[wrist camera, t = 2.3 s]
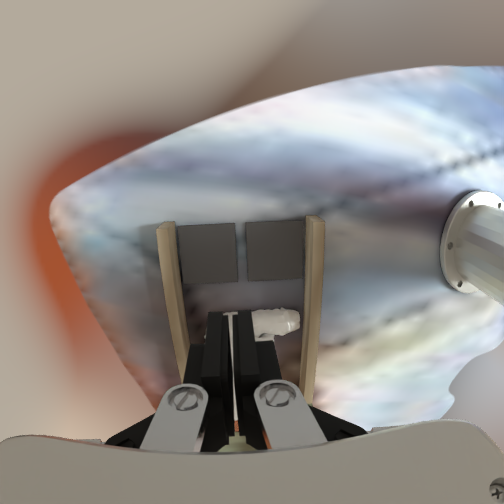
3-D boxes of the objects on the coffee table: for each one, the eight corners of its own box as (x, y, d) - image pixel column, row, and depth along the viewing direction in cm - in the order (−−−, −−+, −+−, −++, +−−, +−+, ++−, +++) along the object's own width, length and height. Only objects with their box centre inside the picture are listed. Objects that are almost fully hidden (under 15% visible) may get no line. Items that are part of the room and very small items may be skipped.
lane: (316, 215, 28) (328, 224, 24) (302, 431, 37) (306, 452, 33) (164, 222, 27) (152, 232, 24) (200, 436, 36) (198, 458, 32)
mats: (302, 220, 28) (303, 221, 28) (301, 277, 30) (302, 278, 29) (178, 225, 28) (177, 226, 27) (184, 282, 29) (183, 283, 29)
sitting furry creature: (265, 376, 33) (275, 459, 22) (193, 355, 32) (177, 438, 20) (302, 309, 31) (333, 388, 19) (222, 281, 29) (214, 356, 18)
